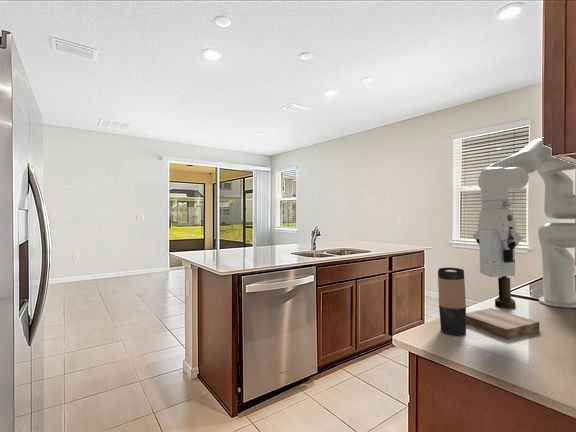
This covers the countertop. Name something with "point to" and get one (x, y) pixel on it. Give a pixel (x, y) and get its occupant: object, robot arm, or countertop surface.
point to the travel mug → (452, 301)
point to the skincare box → (494, 255)
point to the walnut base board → (501, 323)
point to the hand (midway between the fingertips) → (496, 260)
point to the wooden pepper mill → (504, 294)
